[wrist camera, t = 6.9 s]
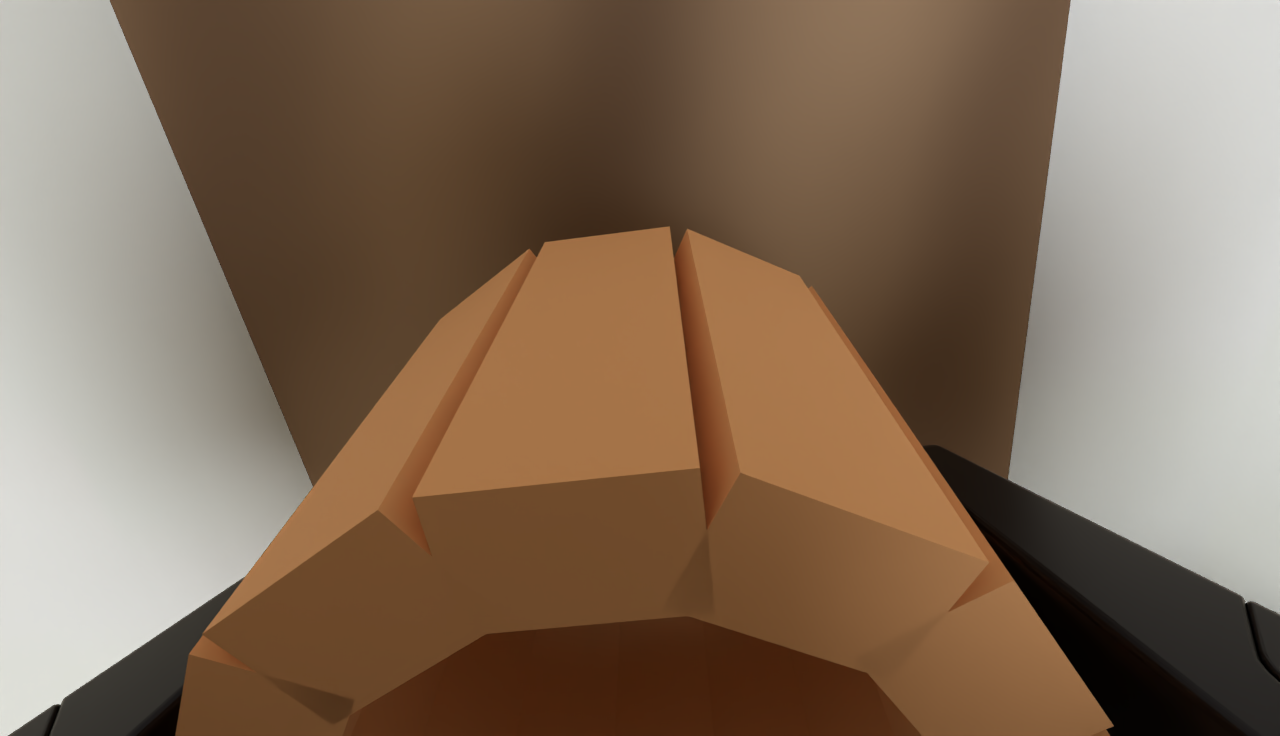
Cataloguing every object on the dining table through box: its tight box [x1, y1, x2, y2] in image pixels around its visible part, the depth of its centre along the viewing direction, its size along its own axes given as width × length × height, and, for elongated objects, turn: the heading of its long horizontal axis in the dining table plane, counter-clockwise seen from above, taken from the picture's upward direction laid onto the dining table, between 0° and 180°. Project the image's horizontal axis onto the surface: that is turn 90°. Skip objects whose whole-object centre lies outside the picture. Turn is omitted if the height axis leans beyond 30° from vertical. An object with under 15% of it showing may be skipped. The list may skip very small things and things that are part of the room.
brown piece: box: [110, 0, 1070, 487], centre depth 11 cm, size 14×16×6 cm
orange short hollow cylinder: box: [175, 226, 1114, 736], centre depth 7 cm, size 6×6×5 cm
